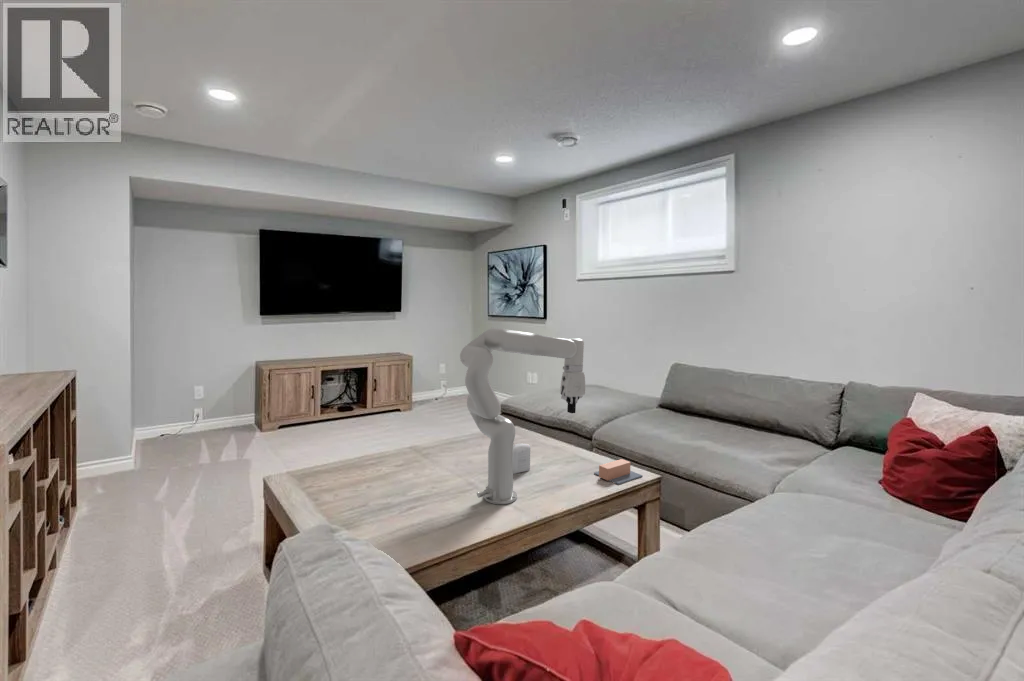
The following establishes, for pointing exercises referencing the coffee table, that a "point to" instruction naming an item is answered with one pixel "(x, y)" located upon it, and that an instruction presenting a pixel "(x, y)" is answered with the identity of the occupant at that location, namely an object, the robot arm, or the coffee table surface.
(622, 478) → the mat
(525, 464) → the photo printer
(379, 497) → the coffee table surface
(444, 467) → the coffee table surface
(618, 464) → the terracotta block
